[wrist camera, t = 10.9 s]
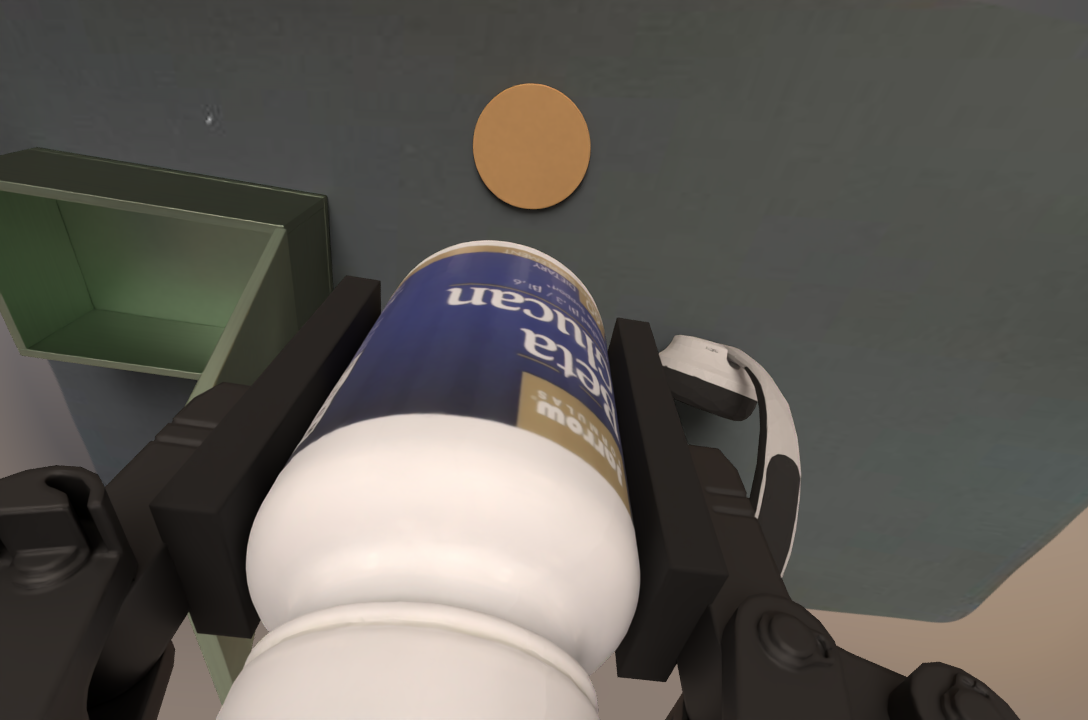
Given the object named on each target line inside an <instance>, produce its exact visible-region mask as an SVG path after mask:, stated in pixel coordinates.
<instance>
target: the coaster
mask: <svg viewBox="0 0 1088 720" xmlns="http://www.w3.org/2000/svg"><path fill="white" fill-rule="evenodd" d="M473 153H474V160H475V163H476V167H477V169H478V172H479V174H480V176H481V178H482V180H483V181H484V183H485V184H486V186H487V187H488V188H489V189H490V190H491V191H492V192H493V193H494V194H495V195H496V196H497V197H498V198H500V199H501V200H503V201H504V202H506V203H508V204H510V205H513V206H516V207H519V208H524V209H541V208H546V207H550V206H552V205H555V204H557V203H559V202H561V201H562V200H564V199H565V198H567V197H568V196H569V195H570V194H571V193H572V192H573V191H574V190H575V189H576V188H577V187H578V185H579V184H580V182H581V181H582V179H583V177H584V175H585V173H586V170H587V167H588V163H589V159H590V137H589V132H588V128H587V125H586V122H585V120H584V118H583V116H582V114H581V112H580V111H579V109H578V108H577V107H576V105H575V104H574V103H573V102H572V101H571V100H570V99H569V98H568V97H567V96H565V95H564V94H563V93H561V92H560V91H558V90H556V89H554V88H551V87H549V86H546V85H541V84H531V83H530V84H521V85H517V86H513V87H511V88H508V89H506V90H504V91H503V92H501V93H499V94H498V95H497V96H496V97H494V98H493V99H492V100H491V101H490V102H489V103H488V105H487V106H486V107H485V109H484V110H483V111H482V113H481V115H480V117H479V119H478V122H477V124H476V128H475V132H474V138H473Z"/></svg>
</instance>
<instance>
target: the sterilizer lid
mask: <svg viewBox="0 0 1088 720" xmlns="http://www.w3.org/2000/svg"><path fill="white" fill-rule="evenodd" d="M297 332H298V325H297V316H296V307H295V299H294V290H293V281H292V272H291V263H290V255H289V246H288V237H287V230H286V229H278V228H276V229H275V230H274V232H273V234H272V236H271V238H270V240H269V242H268V244H267V246H266V248H265V250H264V252H263V254H262V256H261V258H260V260H259V262H258V264H257V266H256V268H255V270H254V272H253V274H252V276H251V277H250V279H249V281H248V283H247V285H246V287H245V289H244V291H243V293H242V295H241V297H240V299H239V301H238V303H237V305H236V307H235V309H234V311H233V313H232V315H231V317H230V319H229V321H228V323H227V325H226V327H225V329H224V330H223V332H222V334H221V336H220V338H219V340H218V342H217V344H216V346H215V348H214V350H213V352H212V354H211V356H210V358H209V360H208V362H207V364H206V366H205V368H204V370H203V372H202V374H201V376H200V378H199V380H198V382H197V384H196V385H195V387H194V389H193V391H192V393H191V395H190V397H189V399H188V401H187V403H186V405H187V404H188V403H189V402H190V401H191V400H192V399H193V398H194V397H196V396H198V395H200V394H201V393H203V392H205V391H207V390H209V389H211V388H213V387H214V386H216V385H218V384H220V383H222V382H228V383H235V384H243V385H250V386H251V385H252V384H253V383H254V382H255V381H256V380H257V378H258V377H259V376H260V375H261V374H262V373H263V372H264V370H265V369H266V368H267V367H268V366H269V365H270V363H271V362H272V361H273V360H274V359H275V358H276V356H277V355H278V354H279V353H280V352H281V351H282V349H283V348H284V347H285V346H286V345H287V344H288V342H289V341H290V340H291V339H292V338H293V337H294V336H295V334H296V333H297ZM186 405H185V406H186ZM187 615H188V618H189V620H190V623H191V625H192V628H193V631H194V633H195V636H196V639H197V641H198V644H199V646H200V649H201V651H202V654H203V657H204V659H205V662H206V665H207V667H208V670H209V673H210V675H211V678H212V680H213V683H214V686H215V688H216V691H217V693H218V696H219V698H220V701H221V704H222V706H223V703H224V701H225V699H226V697H227V695H228V693H229V691H230V689H231V686H232V684H233V683H234V681H235V680H236V678H237V677H238V675H239V674H240V672H241V671H242V670H243V667H244V665H245V663H246V660H247V658H248V656H249V654H250V652H251V649H252V644H253V640H254V635H255V632H254V634H253V636H252V638H251V639H247V638H237V637H228V636H218V635H208V634H199V633H197V632H196V629H195V627H194V624H193V621H192V619H191V616H190V613H189V612H188V614H187Z"/></svg>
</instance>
